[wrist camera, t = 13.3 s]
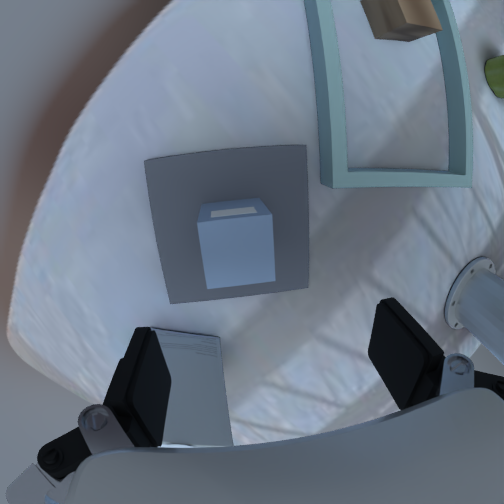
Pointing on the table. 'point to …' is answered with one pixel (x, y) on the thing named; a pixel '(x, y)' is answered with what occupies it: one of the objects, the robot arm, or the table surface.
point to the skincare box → (195, 392)
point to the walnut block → (401, 19)
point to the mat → (226, 189)
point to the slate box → (236, 243)
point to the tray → (334, 109)
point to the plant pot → (496, 75)
